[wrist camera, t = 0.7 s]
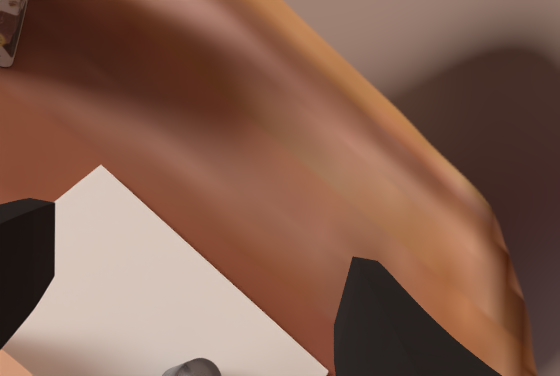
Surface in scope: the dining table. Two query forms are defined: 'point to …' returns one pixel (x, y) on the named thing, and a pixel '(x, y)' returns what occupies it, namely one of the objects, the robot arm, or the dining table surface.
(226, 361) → the base plate
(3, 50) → the coffee box
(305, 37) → the dining table surface
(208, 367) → the metal stub
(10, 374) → the peach cube
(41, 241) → the robot arm
